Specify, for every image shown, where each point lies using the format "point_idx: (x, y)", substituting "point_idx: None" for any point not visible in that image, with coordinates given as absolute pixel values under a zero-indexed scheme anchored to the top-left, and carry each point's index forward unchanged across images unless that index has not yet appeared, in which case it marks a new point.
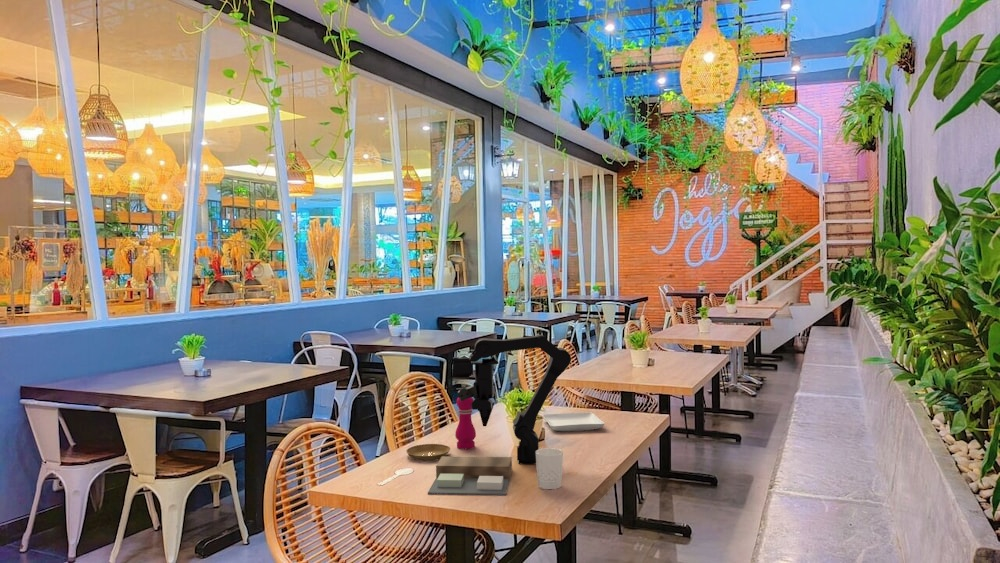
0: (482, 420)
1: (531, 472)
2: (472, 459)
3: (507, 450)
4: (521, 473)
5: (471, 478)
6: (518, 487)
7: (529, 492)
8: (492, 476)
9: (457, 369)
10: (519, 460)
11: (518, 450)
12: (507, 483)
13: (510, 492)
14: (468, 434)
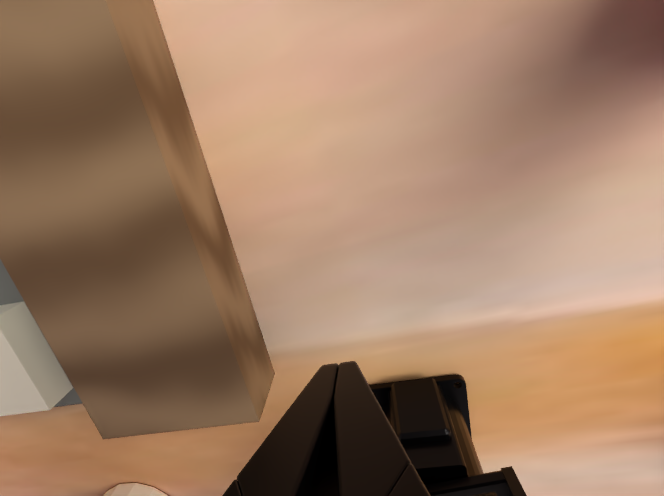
0: (280, 433)
1: None
2: (128, 236)
3: (633, 281)
4: None
5: None
6: (79, 432)
7: (52, 468)
8: (19, 372)
9: None
10: (388, 392)
11: (397, 429)
12: (75, 401)
13: (17, 418)
14: None
